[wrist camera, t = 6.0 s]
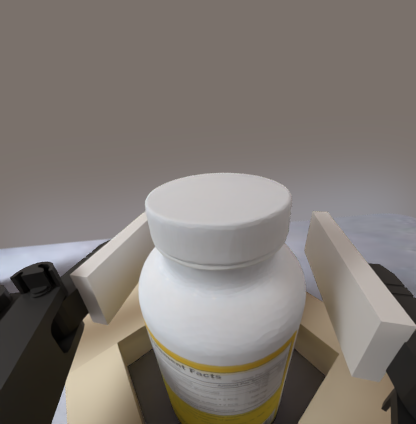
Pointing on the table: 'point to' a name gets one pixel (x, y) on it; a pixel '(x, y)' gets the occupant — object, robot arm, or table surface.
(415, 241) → the table surface
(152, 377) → the table surface
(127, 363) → the holder
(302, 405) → the table surface
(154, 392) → the table surface
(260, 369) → the pill bottle
